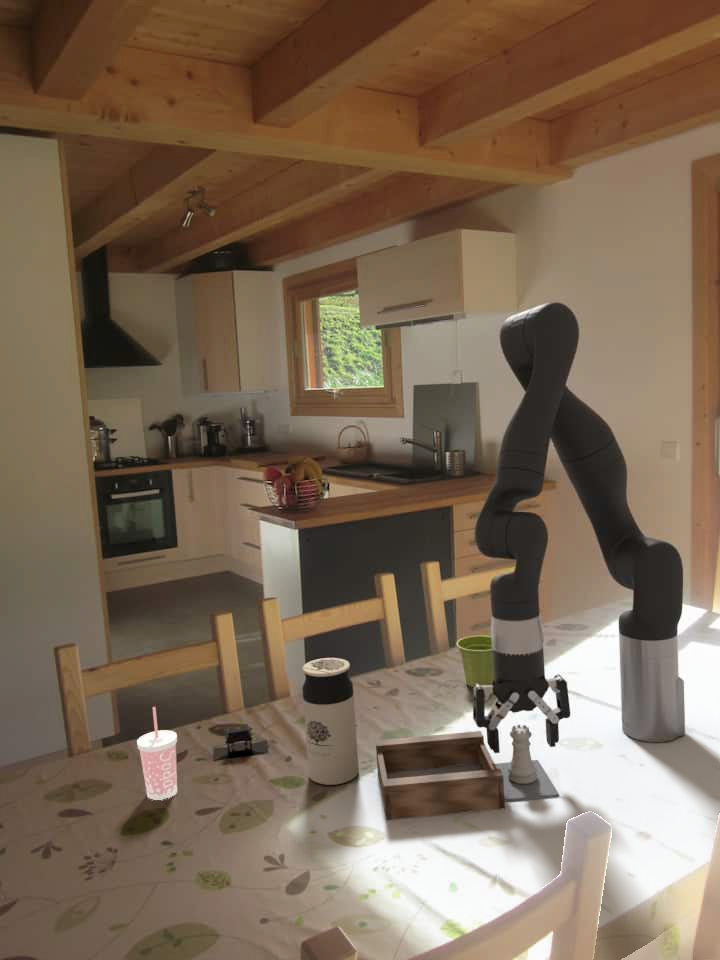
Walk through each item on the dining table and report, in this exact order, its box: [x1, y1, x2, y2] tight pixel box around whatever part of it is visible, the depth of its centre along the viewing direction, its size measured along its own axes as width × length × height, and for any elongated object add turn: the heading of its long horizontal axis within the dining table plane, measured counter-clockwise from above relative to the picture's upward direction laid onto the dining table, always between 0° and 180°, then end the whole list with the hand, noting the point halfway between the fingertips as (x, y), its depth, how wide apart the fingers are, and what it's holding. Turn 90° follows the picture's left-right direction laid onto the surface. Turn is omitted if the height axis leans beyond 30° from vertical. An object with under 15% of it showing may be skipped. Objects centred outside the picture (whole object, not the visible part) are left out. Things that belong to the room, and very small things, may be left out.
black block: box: [212, 723, 269, 762], centre depth 136 cm, size 12×7×5 cm, turn 100°
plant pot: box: [456, 635, 494, 688], centre depth 159 cm, size 9×9×9 cm
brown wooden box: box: [375, 730, 506, 821], centre depth 118 cm, size 17×15×5 cm
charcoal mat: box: [494, 759, 560, 802], centre depth 119 cm, size 8×11×1 cm
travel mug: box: [301, 657, 360, 786], centre depth 124 cm, size 8×8×18 cm
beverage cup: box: [136, 706, 178, 801], centre depth 122 cm, size 6×6×14 cm
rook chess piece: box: [508, 724, 537, 785], centre depth 118 cm, size 4×4×8 cm
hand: (523, 747), depth 118 cm, fingers open, 8 cm apart
